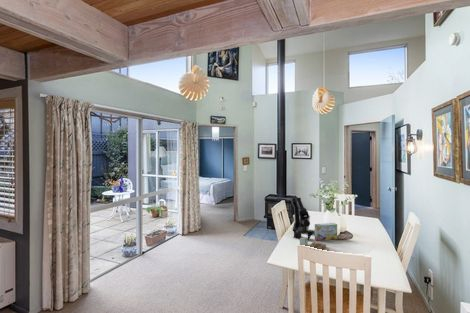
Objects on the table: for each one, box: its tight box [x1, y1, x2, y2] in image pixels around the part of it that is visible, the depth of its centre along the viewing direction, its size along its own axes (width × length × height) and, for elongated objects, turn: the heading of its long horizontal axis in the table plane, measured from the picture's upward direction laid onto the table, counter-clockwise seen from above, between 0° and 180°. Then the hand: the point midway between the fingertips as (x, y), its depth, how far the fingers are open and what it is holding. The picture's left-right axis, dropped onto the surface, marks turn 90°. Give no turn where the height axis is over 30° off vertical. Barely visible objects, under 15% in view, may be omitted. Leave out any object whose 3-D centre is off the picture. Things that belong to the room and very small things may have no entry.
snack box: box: [314, 222, 338, 242], centre depth 244 cm, size 21×6×15 cm, turn 101°
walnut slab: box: [308, 241, 327, 251], centre depth 224 cm, size 11×11×3 cm
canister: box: [292, 214, 311, 234], centre depth 269 cm, size 18×18×21 cm
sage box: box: [299, 236, 308, 246], centre depth 232 cm, size 5×5×7 cm
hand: (303, 240), depth 232 cm, fingers open, 9 cm apart
